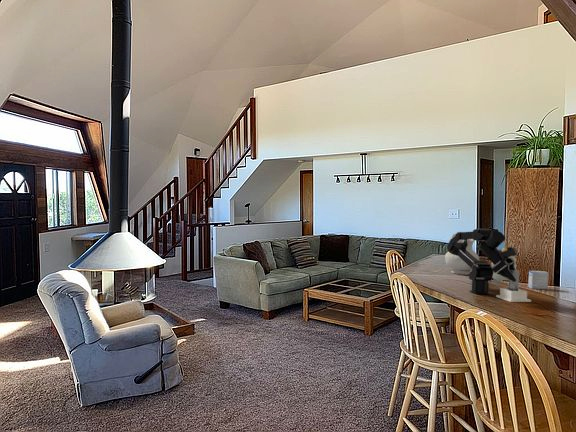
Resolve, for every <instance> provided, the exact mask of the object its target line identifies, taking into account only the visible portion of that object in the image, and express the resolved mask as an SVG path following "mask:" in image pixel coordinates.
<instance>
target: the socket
mask: <svg viewBox="0 0 576 432" xmlns="http://www.w3.org/2000/svg"><path fill="white" fill-rule="evenodd" d="M495 298H499V299H501V300H504V301H506V302H511V303H519V302H520V303H529V302H530V303H531V302H532V299H530V298H528V291H527V290H523V289H520V288H519V289H518V291H510V290H508V287H500V290H499V294H496V295H495Z"/></svg>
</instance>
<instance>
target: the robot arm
mask: <svg viewBox="0 0 576 432" xmlns="http://www.w3.org/2000/svg"><path fill="white" fill-rule="evenodd" d="M455 234H456V235H455V237H453V238H452V239H449V240H448V243H447V246H446V249H447V252H449V253H451V254H453V255H456V256H459V257H460V258H461V259H462V260H463V261H464V262H465V263H466V264H467V265H468V266H470V267H471V268H472V270H471V271H470V274H469V275H468V279H469V280H471V290H469V293H473V294H475V295H490V292H489V286H490V284H489V282H491V281H492V279H493V278H492V276H493V271H494V272H495V273H497V272H498V271H499V272H498V273H497V274H499V275H501V276H503V277H506V278H508V279H510V280H512V281H514V282H515V281H516V279H515V277H514V276H513V274H512V273H511V271H510V270H517V268H516V269H515V267H514V265H515V262H514V259H513V258H510V256H514V257H515V256H517V255H519V254H518V251H517V248H516V247H513V246H510V247H507V248H506V249H507V251H504V252H502V249H498V247H499V246H501V244H502V243H504V242H505V241H506V236H505V235H504V233H503V232H501V231H499V229H492V230H491V229H490V228H475V229H473V230H472V231H457V232H456V233H455ZM468 239H473V240H475V241H476V242H480V243H478V244H476V248H475V249H476V252H478V251H481V252H482V253H483V254H484V255H485V256H486V257H487V260H488V261H490V262H491V263H493V264H494V266H493V267H492V264H490V263H489V262H488V261H487V260H479V261H478V260H477V259H476V258H475V257H474V256H473V255H471V254H470V253H469V252H468V251H467V250H466V248H467V246H468V244H467V240H468ZM459 240H464V242H458V241H459ZM520 279H521V276H520V275H519V280H520Z"/></svg>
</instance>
